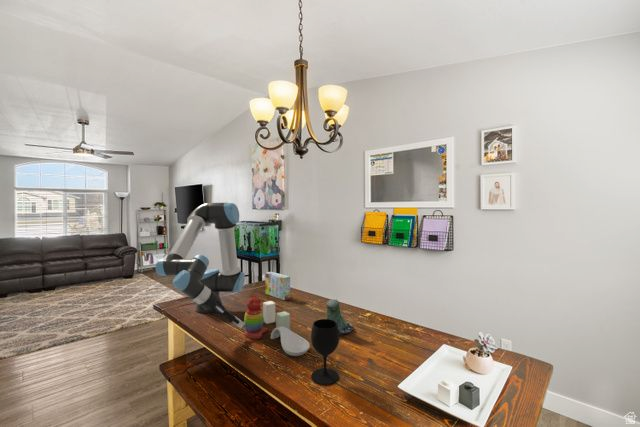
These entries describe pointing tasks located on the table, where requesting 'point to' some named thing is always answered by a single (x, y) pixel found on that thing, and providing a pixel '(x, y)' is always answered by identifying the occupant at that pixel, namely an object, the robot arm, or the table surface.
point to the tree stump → (338, 317)
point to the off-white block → (269, 312)
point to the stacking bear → (254, 319)
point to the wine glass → (325, 349)
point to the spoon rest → (291, 341)
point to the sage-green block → (283, 320)
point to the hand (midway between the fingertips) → (242, 325)
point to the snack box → (277, 285)
